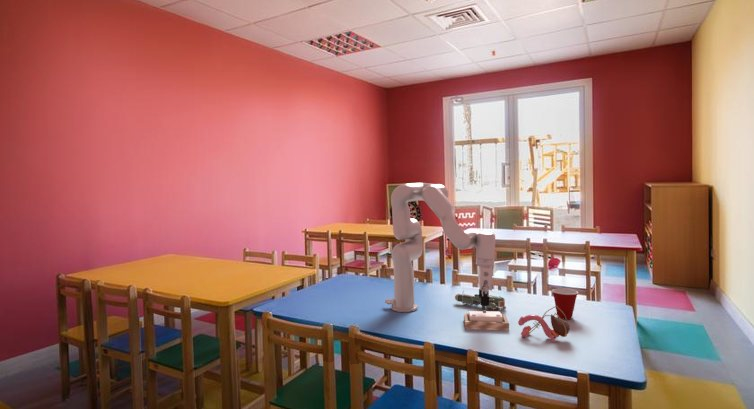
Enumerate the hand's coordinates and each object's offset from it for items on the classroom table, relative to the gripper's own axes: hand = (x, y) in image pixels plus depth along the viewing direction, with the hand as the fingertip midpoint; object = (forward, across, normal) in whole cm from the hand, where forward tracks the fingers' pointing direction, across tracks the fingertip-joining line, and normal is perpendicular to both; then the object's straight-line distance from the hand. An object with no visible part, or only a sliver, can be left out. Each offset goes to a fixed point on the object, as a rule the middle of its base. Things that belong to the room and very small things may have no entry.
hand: (483, 301), depth 179 cm
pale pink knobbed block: (+9, 0, -1) cm, 9 cm away
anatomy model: (+9, -12, -22) cm, 27 cm away
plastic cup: (+9, +12, -36) cm, 39 cm away
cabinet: (+10, -1, -1) cm, 10 cm away
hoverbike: (+11, +24, 0) cm, 26 cm away
